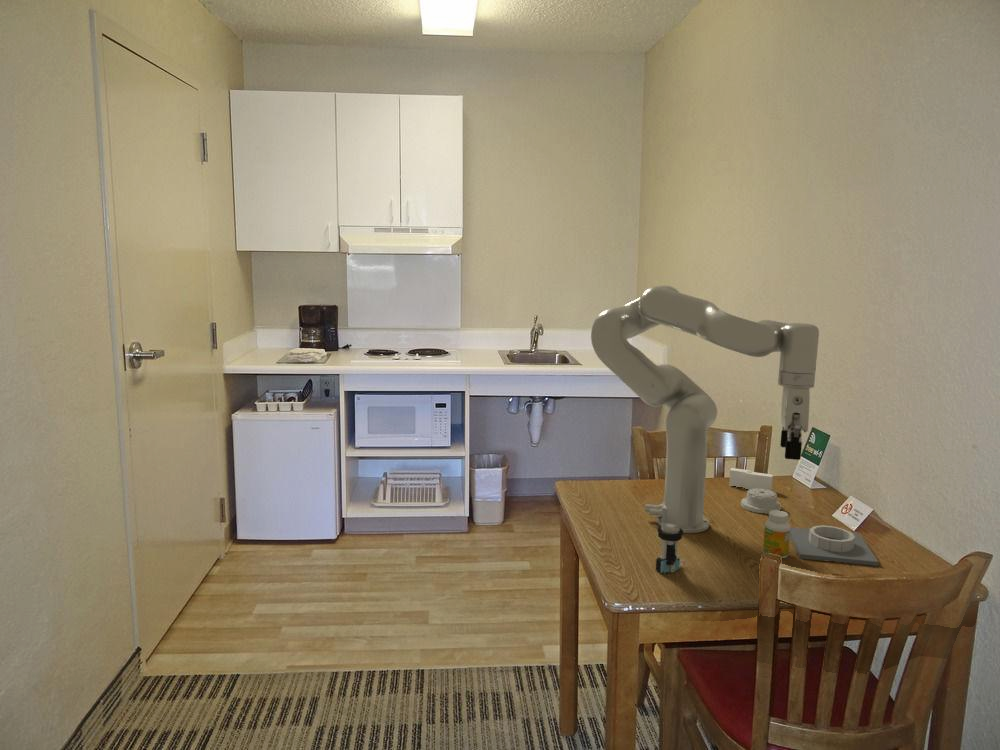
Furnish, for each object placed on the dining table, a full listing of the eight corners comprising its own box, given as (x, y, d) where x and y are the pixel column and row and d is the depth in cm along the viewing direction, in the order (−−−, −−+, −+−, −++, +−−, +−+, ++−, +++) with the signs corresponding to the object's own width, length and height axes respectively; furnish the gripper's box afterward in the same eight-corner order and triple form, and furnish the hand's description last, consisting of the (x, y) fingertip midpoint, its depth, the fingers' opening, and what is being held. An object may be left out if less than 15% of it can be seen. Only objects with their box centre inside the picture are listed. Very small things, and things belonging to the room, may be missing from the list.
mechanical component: (748, 514, 187) (786, 515, 187) (749, 498, 186) (788, 499, 186) (736, 501, 197) (772, 501, 196) (737, 485, 196) (774, 486, 196)
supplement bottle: (758, 553, 162) (761, 512, 161) (769, 547, 166) (772, 507, 164) (781, 561, 159) (785, 519, 157) (792, 554, 162) (795, 513, 161)
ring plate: (799, 558, 160) (801, 543, 160) (788, 531, 176) (789, 517, 175) (878, 566, 157) (879, 551, 156) (859, 537, 172) (860, 523, 171)
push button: (674, 561, 158) (676, 518, 156) (691, 571, 153) (693, 526, 151) (650, 567, 155) (652, 523, 153) (666, 577, 150) (669, 532, 148)
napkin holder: (783, 494, 203) (785, 475, 202) (753, 500, 198) (755, 480, 197) (744, 479, 216) (745, 460, 215) (715, 484, 211) (716, 465, 210)
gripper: (820, 387, 152) (813, 465, 155) (809, 373, 168) (802, 444, 171) (782, 384, 154) (775, 462, 157) (775, 371, 170) (769, 442, 173)
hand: (789, 453), depth 164 cm, fingers open, 9 cm apart
